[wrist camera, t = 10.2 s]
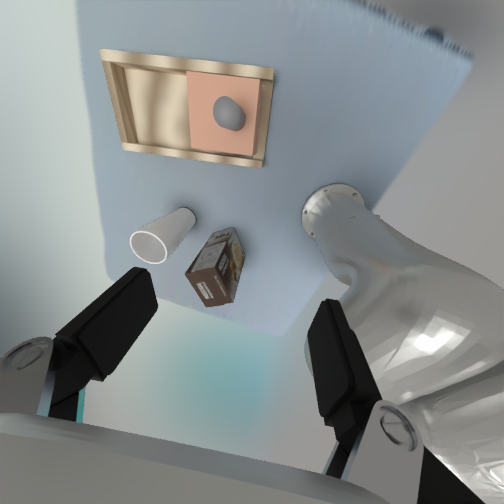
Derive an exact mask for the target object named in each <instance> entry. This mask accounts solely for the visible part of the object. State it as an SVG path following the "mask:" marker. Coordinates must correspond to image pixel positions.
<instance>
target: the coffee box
mask: <svg viewBox="0 0 504 504" xmlns="http://www.w3.org/2000/svg"><path fill="white" fill-rule="evenodd" d="M244 260H245V254H244V252H243V249H242V247H241V244H240V242H239V239H238V237H237V234H236V232H235V230H234V228H229V229H225V230H222V231H219V232H215V233H212V235H211V236H210V238H209V239H208V241H207V242H206V244H205V245H204V247H203V248H202V250H201V251H200V252H199V254H198V255H197V257H196V258H195V260H194V261H193V263H192V264H191V266H190V267H189V268H188V270H187V271H186V273H185V275H186V277H187V278H188V280H189V282H190V283H191V285H192V286H193V288H194V289H195V291H196V292H197V294H198V295H199V297H200V298H201V300H202V302H203V303H204V305H205V306H206V307H213V306H220V305H224V304H226V303H233V302H234V298H235V294H236V290H237V287H238V283H239V279H240V275H241V271H242V268H243V264H244Z"/></svg>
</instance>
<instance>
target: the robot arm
mask: <svg viewBox="0 0 504 504" xmlns="http://www.w3.org/2000/svg"><path fill="white" fill-rule="evenodd" d="M325 189H327V191H325ZM353 193H354V195H352V194H353ZM305 210H307V211H306V212H305ZM301 221H302V225H303V227H304V230H305V231H306V232H307V234H308V235H309V236H311V237H312V238H314V239H316V240H317V242H318V245H319V247H320V250H321V252H322V254H323V257H324V259H325V262H326V264H327V266H328V268H329V270H330V272H331V273H332V275H333V276H334V277H335V278H336V279H338V280H339V281H340V282H342V283H344V284H346V285H349V286H350V287H349V289H348V290H347V291H346V292H345V293H344V294H343V296H342V297H341V298H340V299H339V300H332V299H326V300H325V301H322V302H321V304H320V307H319V308H318V311H317V313H316V315H315V317H314V319H313V322H312V324H311V326H310V328H309V330H308V334H307V338H306V340H305V346H304V353H305V359H306V362H307V365H308V368H309V370H310V372H311V374H312V376H313V378H314V382H315V388H316V394H317V401H318V408H319V413H320V415H321V417H324V422H325V425H326V426H331V427H334V430H335V435H336V440H337V441H336V443H335V446H334V448H333V451H332V452H331V455H330V457H329V459H328V461H327V463H326V466H325V468H324V470H323V473H322V474H319V473H315V472H311V471H307V470H302V469H298V468H294V467H290V466H286V465H280V464H276V463H272V462H267V461H262V460H258V459H253V458H248V457H243V456H239V455H234V454H229V453H224V452H220V451H215V450H210V449H205V448H200V447H196V446H191V445H186V444H181V443H177V442H172V441H167V440H162V439H157V438H152V437H148V436H143V435H138V434H133V433H128V432H123V431H118V430H113V429H108V428H103V427H99V426H94V425H89V424H84V423H82V422H83V410H84V397H85V387H86V385H87V383H88V382H89V381H90V380H91V379H92V380H97V381H101V382H103V381H104V379H105V378H106V377H107V375H110V374H111V373H112V372H113V371H114V370H115V369H116V367H117V366H118V364H119V363H120V362H121V360H122V359H123V357H124V356H125V355H126V353H127V352H128V350H129V349H130V347H131V346H132V345H133V343H134V342H135V341H136V339H137V338H138V336H139V335H140V334H141V332H142V331H143V329H144V328H145V327H146V325H147V324H148V322H149V321H150V320H151V318H152V317H153V315H154V314H155V313H156V311H157V309H158V303H157V299H156V295H155V291H154V287H153V283H152V279H151V275H150V273H149V272H148V271H147V269H145V268H139V267H133V268H132V269H130V270H129V271H128V272H127V273H126V274H125V275H123V276H122V277H121V278H120V279H119V280H118V281H116V282H115V283H114V284H113V285H112V286H111V287H110V288H108V289H107V290H106V291H105V292H104V293H103V294H101V295H100V296H99V297H98V298H97V299H96V300H94V301H93V302H92V303H91V304H90V305H89V306H87V307H86V308H85V309H84V310H83V311H82V312H81V313H79V314H78V315H77V316H76V317H75V318H74V319H72V320H71V321H70V322H69V323H68V324H67V325H66V326H64V327H63V328H62V329H61V330H60V331H59V332H58V333H56V334H55V335H56V337H55V338H54V339H53V340H52V339H51V338H49V337H37V338H32V339H30V340H27V341H25V342H22V343H20V344H19V345H17V346H15V347H13V348H12V349H11V350H9V351H8V352H6V353H5V354H4V355H3V356H2V357H1V358H0V504H504V289H502V288H501V287H499V286H498V285H497V284H495V283H494V282H492V281H491V280H489V279H488V278H486V277H484V276H483V275H481V274H479V273H477V272H475V271H473V270H471V269H470V268H468V267H466V266H464V265H461V264H459V263H457V262H455V261H453V260H451V259H448V258H446V257H444V256H442V255H440V254H437V253H435V252H433V251H431V250H429V249H427V248H425V247H423V246H421V245H419V244H417V243H415V242H414V241H412V240H410V239H409V238H407V237H405V236H404V235H402V234H401V233H399V232H398V231H397V230H395V229H394V228H393V227H391V226H390V225H388V224H387V223H386V222H384V221H383V220H381V219H380V216H379V215H374V214H373V213H372V212H370V211H369V210H368V209H366V208H365V203H364V200H363V197H362V196H361V194H360V193H359V192H358V191H357V190H356V189H354V188H353V187H351V186H348V185H345V184H330V185H326V186H324V187H322V188H320V189H318V190H317V191H315V192H314V193H313V194H312V195H311V196H310V197H309V198H308V199H307V201H306V202H305V204H304V206H303V209H302V214H301ZM312 232H313V233H312Z"/></svg>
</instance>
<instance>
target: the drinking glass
mask: <svg viewBox="0 0 504 504" xmlns="http://www.w3.org/2000/svg"><path fill="white" fill-rule="evenodd" d="M195 223H196V218H195V215H194V214H193V212H192V211H190V210H189V209H187V208H178V209H177V210H175V211H173V212H171V213H169V214H167V215H165V216H163V217H160V218H158V219H156V220H154V221H152V222H150V223H148V224H146V225H145V226H143V227H141V228H140V229H139V230H137V231H136V232H134V233H133V234H132V235H131V237H130V246H131V248H132V250H133V252H134V253H135V254H136V255H137V256H138V257H139V258H140V259H142V260H143V261H145V262H148V263H152V264H159V263H162V262H163V261H165V260H166V259H167V258H168V257H169V256H170V255H171V254H172V253H173V252H174V251H175V250H176V249H177V247H178V246H179V245H180V243H181V242H182V241H183V239H184V238H185V236H186V235H187V234H188V232H189V231H190V230H191V229H192V228H193V226H194V225H195Z"/></svg>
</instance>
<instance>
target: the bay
mask: <svg viewBox="0 0 504 504" xmlns="http://www.w3.org/2000/svg"><path fill="white" fill-rule="evenodd" d="M99 51H100V55H101V59H102V63H103V67H104V72H105V76H106V80H107V84H108V88H109V92H110V96H111V101H112V105H113V109H114V113H115V117H116V121H117V126H118V130H119V134H120V138H121V142H122V146H123V150H128V151H136V152H143V153H150V154H158V155H165V156H172V157H180V158H187V159H195V160H202V161H209V162H217V163H224V164H231V165H239V166H246V167H253V168H262V167H263V162H264V154H265V146H266V138H267V130H268V123H269V115H270V107H271V99H272V92H273V84H274V68H268V67H259V66H250V65H241V64H232V63H223V62H214V61H205V60H196V59H187V58H178V57H169V56H160V55H151V54H142V53H133V52H124V51H115V50H106V49H99ZM186 71H192V72H200V73H209V74H218V75H227V76H236V77H244V78H253V79H260V82H261V86H262V90H263V93H262V102H261V112H260V121H259V131H258V140H257V149H256V154H255V155H253V156H248V155H241V154H233V153H226V152H218V151H211V150H203V149H196V148H191V138H190V122H189V106H188V91H187V75H186Z"/></svg>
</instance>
